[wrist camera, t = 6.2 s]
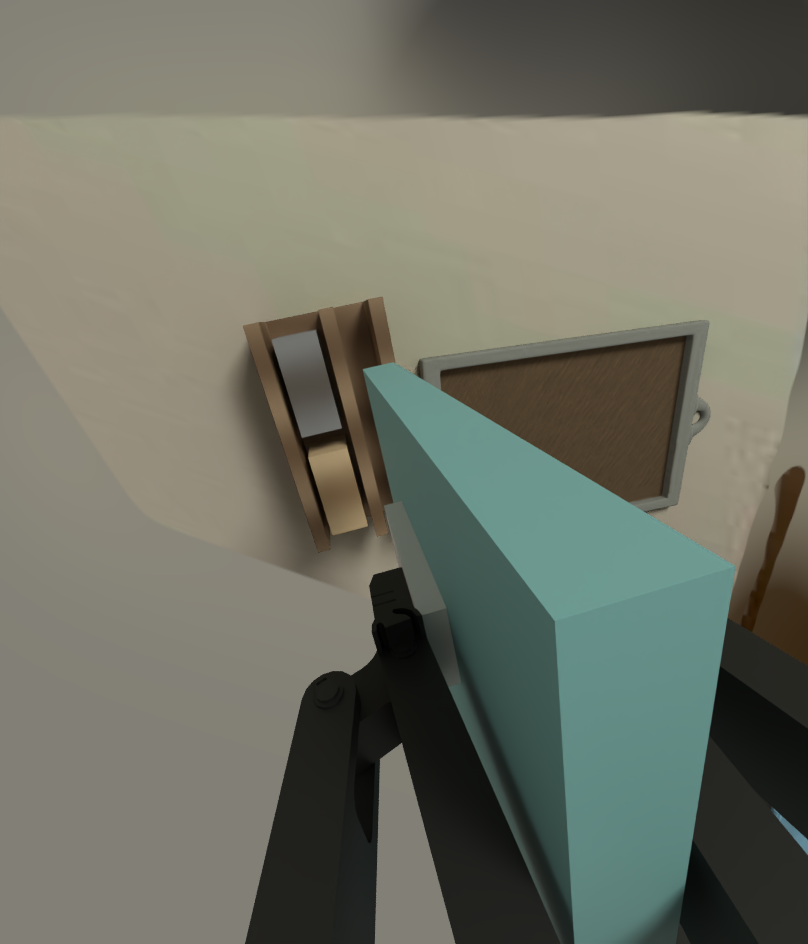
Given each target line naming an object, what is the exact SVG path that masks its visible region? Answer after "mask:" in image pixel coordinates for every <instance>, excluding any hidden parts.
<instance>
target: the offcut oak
mask: <svg viewBox="0 0 808 944" xmlns="http://www.w3.org/2000/svg"><path fill="white" fill-rule="evenodd" d="M308 459H309V462H310V465H311V468H312V472H313V475H314V478H315V481H316V484H317V488H318V491H319V494H320V497H321V501H322V504H323V507H324V510H325V513H326V517H327V520H328V523H329V526H330V529H331V533H332V536H333V535H337V534H341V533H345V532H348V531H352V530H356V529H360V528H363V527H367V526H368V524H367V519H366V514H365V509H364V505H363V501H362V497H361V493H360V490H359V486H358V482H357V478H356V475H355V471H354V467H353V463H352V460H351V456H350V452H349V448H348V444H347V441H346V437H345V434H343V435H339V436H335V437H331V438H326V439H322V440H318V441H314V442H310V447H309V455H308Z"/></svg>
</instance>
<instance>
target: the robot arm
mask: <svg viewBox="0 0 808 944" xmlns="http://www.w3.org/2000/svg"><path fill="white" fill-rule="evenodd" d="M384 508H385V512H386V516H387V521H388V525H389V529H390V533H391V537H392V541H393V545H394V549H395V554H396V558H397V562H398V565H399V568H396V569H393V570H389V571H386V572H382V573H378V574H375V575H373V578H372V580H371V583H370V585H369V587H370V593H371V598H372V605H373V611H374V618H375V620H374V622H373V624H372V635H373V638H374V641H375V645H376V648H377V652H376V654H375V656H374V657H373V659H372V660H371V661H370V662H369V663H368V664H367V665H366V666H365V667H363V668H362V669H361V670H359V671H357V672H356V673H354V674H353V675H351V676H350V675H349V674H347V673H344V672H343V671H332V672H329V673H326V674H323V675H321V676H320V677H318V678H317V679H316V680H314V681H313V682H312V683H311V684H310V686H309V687H308V688H307V689H306V691H305V693H304V696H303V698H302V701H301V706H300V710H299V714H298V718H297V722H296V727H295V731H294V736H293V740H292V744H291V748H290V753H289V757H288V761H287V766H286V770H285V774H284V779H283V783H282V787H281V792H280V796H279V800H278V805H277V809H276V813H275V817H274V821H273V826H272V830H271V834H270V839H269V843H268V847H267V852H266V856H265V860H264V865H263V869H262V874H261V877H260V882H259V886H258V890H257V895H256V899H255V903H254V908H253V912H252V917H251V921H250V925H249V929H248V933H247V938H246V942H245V944H375V913H376V911H375V910H376V909H375V908H376V877H377V843H378V842H377V841H378V840H377V839H378V806H379V772H380V771H379V769H380V758H382V757H383V756H384V755H386V754H387V753H388V752H390V751H391V750H393V749H394V748H395V747H397V746H398V745H399V744H401V743H402V744H403V748H404V752H405V756H406V760H407V763H408V767H409V771H410V775H411V778H412V782H413V785H414V790H415V793H416V797H417V801H418V805H419V808H420V812H421V816H422V819H423V823H424V827H425V831H426V835H427V838H428V842H429V846H430V850H431V853H432V857H433V861H434V865H435V868H436V872H437V876H438V880H439V883H440V887H441V891H442V895H443V898H444V902H445V906H446V910H447V913H448V917H449V921H450V924H451V928H452V932H453V935H454V940H455V943H456V944H561V943H560V941H559V938H558V936H557V934H556V931H555V929H554V927H553V925H552V922H551V920H550V918H549V916H548V913H547V911H546V909H545V906H544V904H543V902H542V900H541V897H540V895H539V893H538V890H537V888H536V886H535V884H534V881H533V879H532V877H531V874H530V872H529V870H528V868H527V865H526V863H525V861H524V858H523V856H522V854H521V852H520V849H519V847H518V845H517V842H516V840H515V838H514V836H513V833H512V831H511V829H510V826H509V824H508V822H507V820H506V817H505V815H504V813H503V810H502V808H501V806H500V804H499V801H498V799H497V797H496V795H495V792H494V790H493V788H492V785H491V783H490V781H489V779H488V776H487V774H486V772H485V769H484V767H483V765H482V763H481V760H480V758H479V756H478V753H477V751H476V749H475V747H474V744H473V742H472V740H471V737H470V735H469V733H468V731H467V728H466V726H465V724H464V721H463V719H462V717H461V715H460V712H459V710H458V708H457V705H456V703H455V701H454V699H453V696H452V694H451V692H450V690H449V687H450V686H453V685H456V684H459V683H461V680H460V675H459V670H458V665H457V660H456V654H455V649H454V644H453V639H452V634H451V629H450V624H449V619H448V613H447V608H446V606H445V603H444V601H443V599H442V596H441V594H440V592H439V589H438V587H437V584H436V582H435V580H434V577H433V575H432V572H431V570H430V568H429V565H428V563H427V561H426V558H425V556H424V553H423V551H422V549H421V546H420V544H419V541H418V539H417V537H416V534H415V532H414V530H413V527H412V525H411V522H410V520H409V518H408V515H407V513H406V510H405V508H404V506H403V503H402V501H400V502H396V503H392V504H388V505H384ZM676 944H808V666H807V665H805V664H804V663H802V662H800V661H798V660H797V659H795V658H794V657H792V656H790V655H789V654H787V653H785V652H783V651H782V650H780V649H779V648H777V647H775V646H774V645H772V644H770V643H768V642H767V641H765V640H764V639H762V638H760V637H758V636H757V635H755V634H754V633H752V632H750V631H748V630H747V629H745V628H743V627H742V626H740V625H738V624H737V623H735V622H733V621H732V620H730V619H728V618H727V623H726V630H725V636H724V642H723V649H722V655H721V661H720V668H719V674H718V680H717V687H716V693H715V699H714V706H713V712H712V718H711V725H710V731H709V738H708V744H707V750H706V757H705V763H704V769H703V776H702V782H701V788H700V795H699V801H698V807H697V814H696V820H695V826H694V833H693V839H692V845H691V852H690V858H689V864H688V871H687V877H686V883H685V890H684V896H683V902H682V909H681V915H680V921H679V928H678V934H677V940H676Z"/></svg>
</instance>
